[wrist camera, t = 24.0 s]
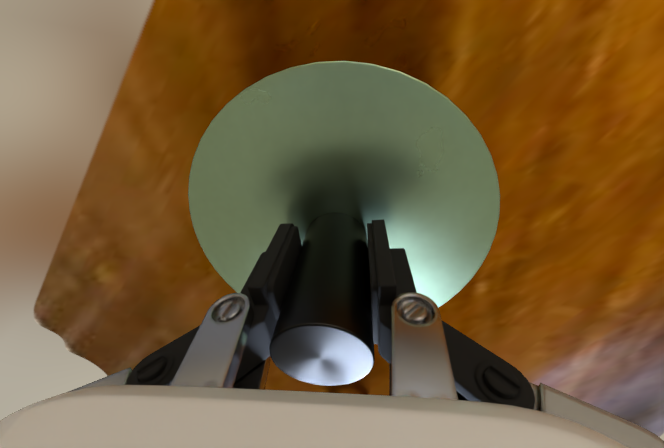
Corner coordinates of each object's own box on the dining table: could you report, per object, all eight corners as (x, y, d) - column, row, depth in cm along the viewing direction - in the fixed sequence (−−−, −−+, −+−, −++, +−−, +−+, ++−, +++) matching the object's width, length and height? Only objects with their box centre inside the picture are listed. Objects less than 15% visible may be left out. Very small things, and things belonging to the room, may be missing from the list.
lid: (149, 84, 10) (-155, 98, 4) (530, 37, 9) (979, -60, 2) (245, 316, 18) (186, 443, 12) (460, 318, 16) (524, 470, 10)
